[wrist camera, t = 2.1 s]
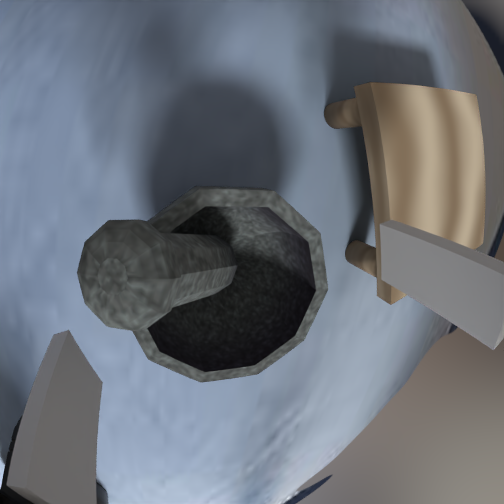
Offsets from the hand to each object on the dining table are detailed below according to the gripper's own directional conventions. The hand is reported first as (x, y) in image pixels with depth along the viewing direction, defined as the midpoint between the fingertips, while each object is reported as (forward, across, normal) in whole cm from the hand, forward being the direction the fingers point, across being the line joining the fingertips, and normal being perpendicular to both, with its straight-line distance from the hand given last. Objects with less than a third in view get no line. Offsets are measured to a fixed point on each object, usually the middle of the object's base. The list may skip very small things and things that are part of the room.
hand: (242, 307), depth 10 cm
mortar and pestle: (+9, -1, 0) cm, 9 cm away
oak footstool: (+9, +17, +1) cm, 19 cm away
